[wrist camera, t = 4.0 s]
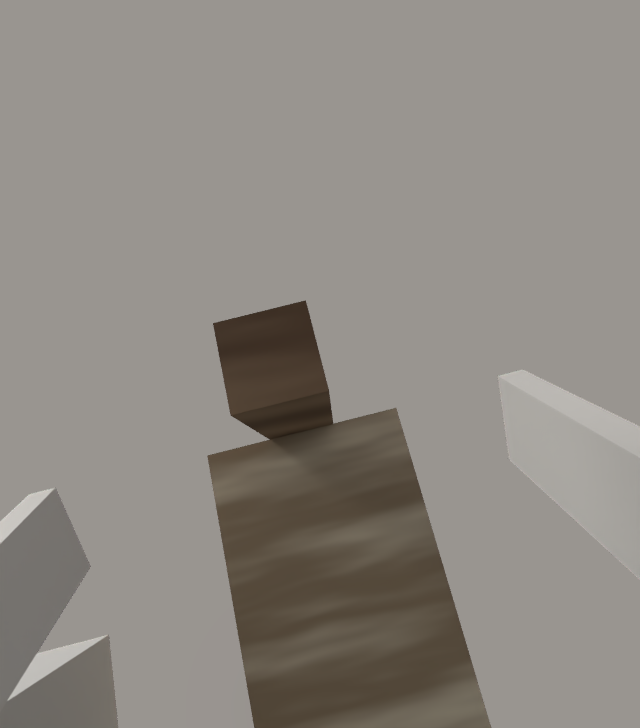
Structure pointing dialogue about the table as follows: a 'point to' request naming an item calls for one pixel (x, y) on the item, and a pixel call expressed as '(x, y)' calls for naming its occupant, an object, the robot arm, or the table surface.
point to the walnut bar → (274, 371)
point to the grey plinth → (65, 689)
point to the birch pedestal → (341, 583)
